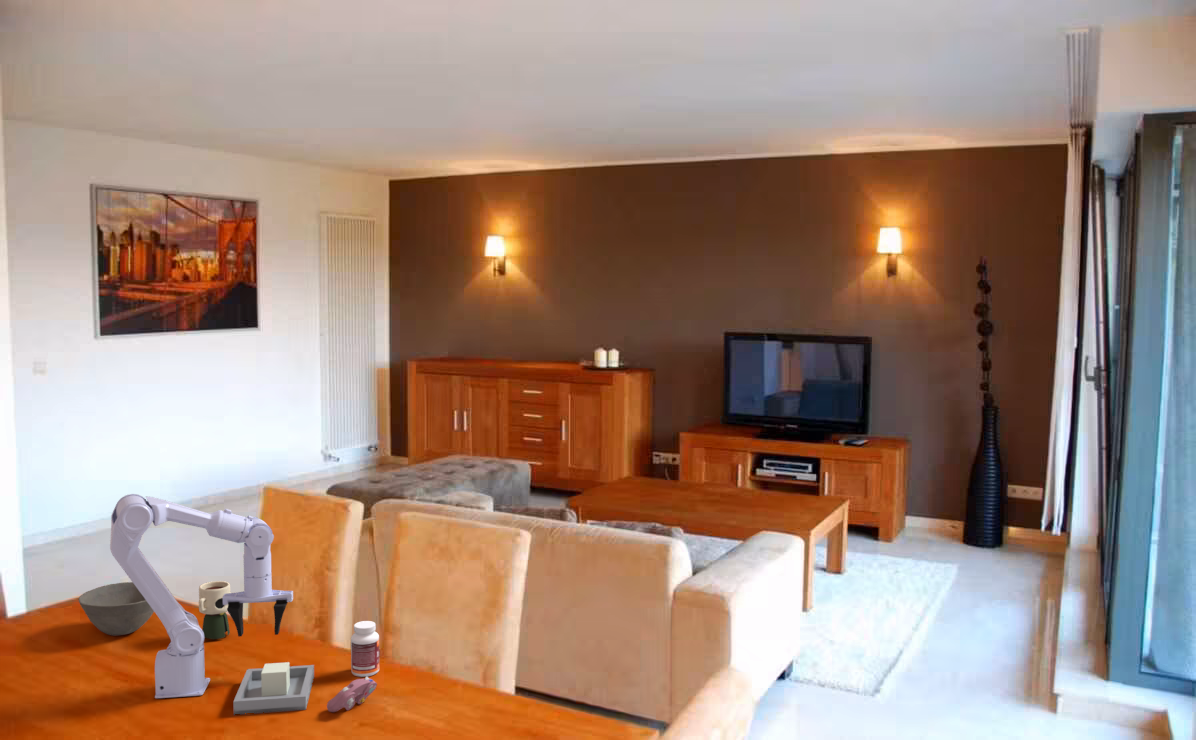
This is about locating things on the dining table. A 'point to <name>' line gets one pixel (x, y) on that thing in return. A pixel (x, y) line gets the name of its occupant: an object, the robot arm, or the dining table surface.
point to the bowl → (116, 608)
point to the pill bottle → (364, 649)
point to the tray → (295, 699)
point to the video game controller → (352, 694)
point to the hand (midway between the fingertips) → (259, 634)
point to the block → (275, 679)
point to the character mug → (214, 609)
